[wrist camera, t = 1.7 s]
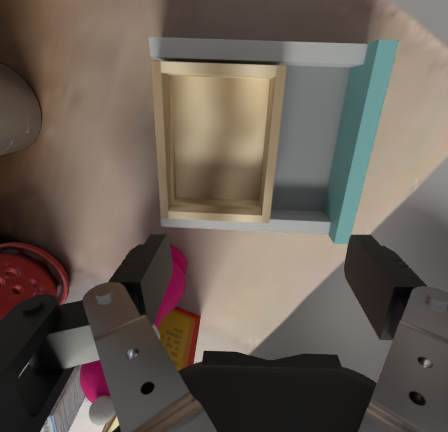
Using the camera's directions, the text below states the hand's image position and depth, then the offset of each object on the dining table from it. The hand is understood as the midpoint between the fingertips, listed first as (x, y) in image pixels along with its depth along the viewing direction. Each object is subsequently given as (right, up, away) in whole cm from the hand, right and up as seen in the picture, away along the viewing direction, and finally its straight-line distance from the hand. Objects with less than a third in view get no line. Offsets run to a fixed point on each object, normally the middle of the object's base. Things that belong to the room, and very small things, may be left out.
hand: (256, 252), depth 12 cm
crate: (-2, +10, +17) cm, 20 cm away
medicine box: (-27, -26, +35) cm, 52 cm away
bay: (+2, +10, +18) cm, 21 cm away
